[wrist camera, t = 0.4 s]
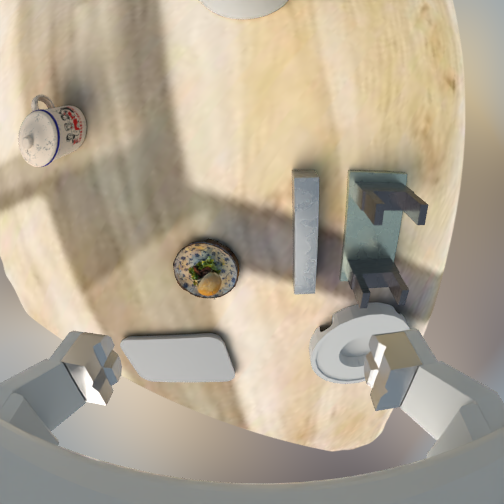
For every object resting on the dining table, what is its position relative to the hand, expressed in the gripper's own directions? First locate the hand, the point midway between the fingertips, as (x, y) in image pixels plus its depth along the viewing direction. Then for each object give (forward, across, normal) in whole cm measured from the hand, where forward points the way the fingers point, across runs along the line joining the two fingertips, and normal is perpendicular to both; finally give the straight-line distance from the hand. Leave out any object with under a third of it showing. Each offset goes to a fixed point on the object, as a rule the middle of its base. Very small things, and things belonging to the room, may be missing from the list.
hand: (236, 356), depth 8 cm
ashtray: (+43, -21, +38) cm, 61 cm away
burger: (+41, +10, +17) cm, 45 cm away
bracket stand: (+39, -19, +10) cm, 45 cm away
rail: (+40, -7, +10) cm, 41 cm away
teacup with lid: (+37, +32, -13) cm, 51 cm away
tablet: (+44, +21, +42) cm, 64 cm away
